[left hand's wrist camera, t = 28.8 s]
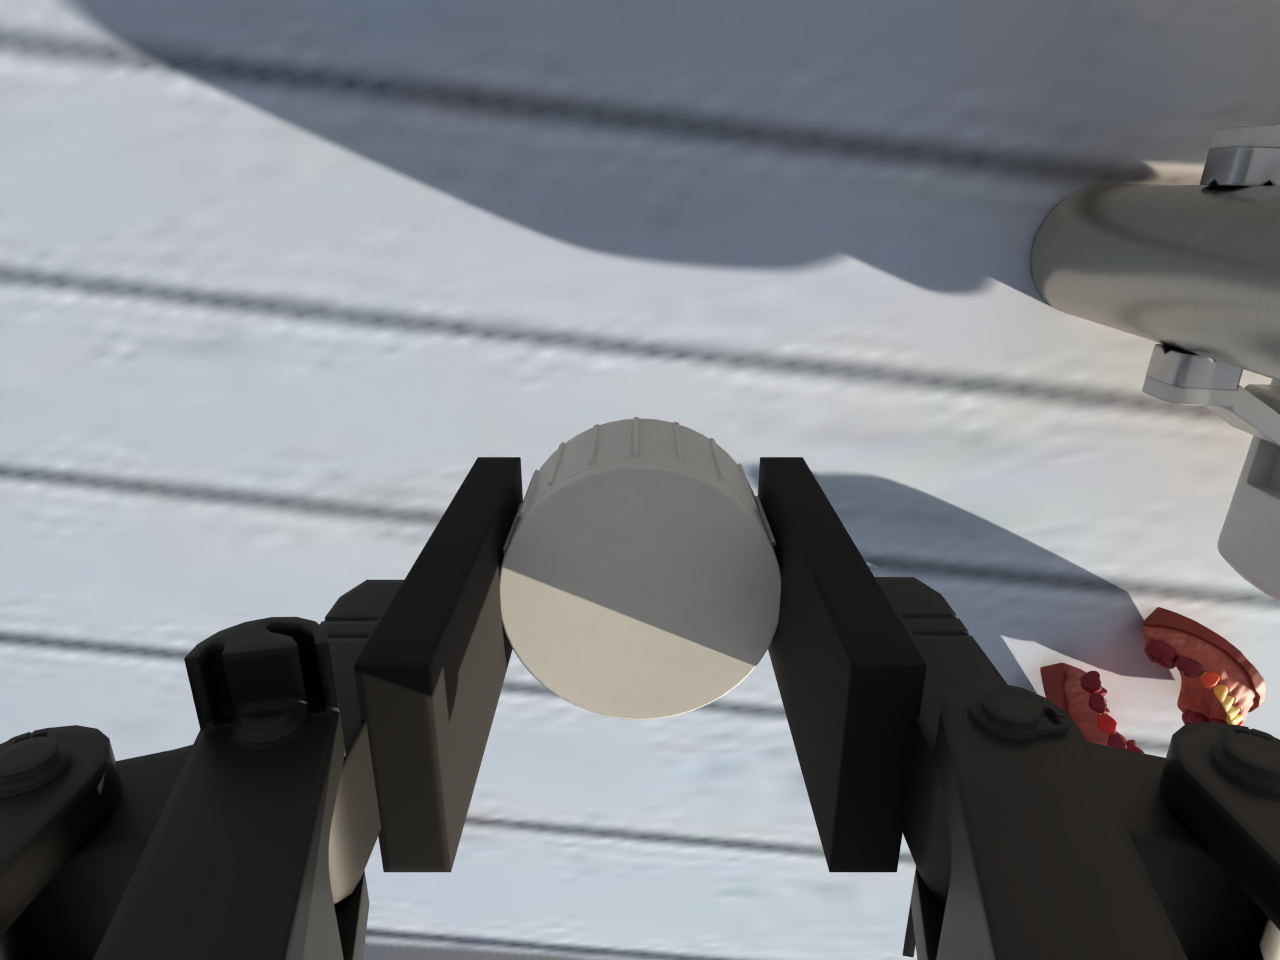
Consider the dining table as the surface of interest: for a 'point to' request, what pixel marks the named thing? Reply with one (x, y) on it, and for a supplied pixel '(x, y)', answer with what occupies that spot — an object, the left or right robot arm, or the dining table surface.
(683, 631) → the cap
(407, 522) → the dining table surface
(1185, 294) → the bottle
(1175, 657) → the dental model
